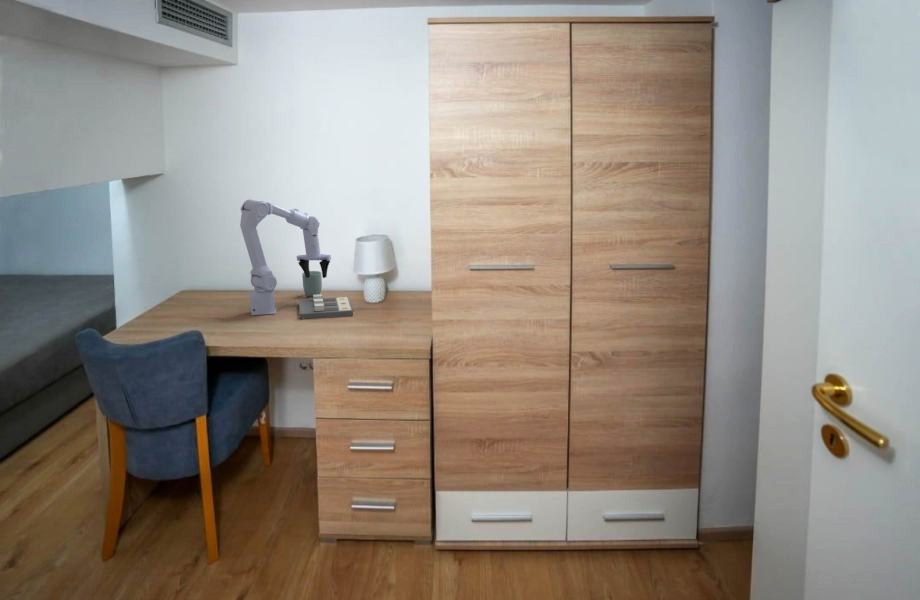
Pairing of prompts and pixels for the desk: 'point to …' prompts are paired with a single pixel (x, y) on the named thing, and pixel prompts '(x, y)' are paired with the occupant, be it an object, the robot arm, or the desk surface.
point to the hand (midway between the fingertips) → (316, 277)
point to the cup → (312, 283)
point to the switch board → (326, 308)
